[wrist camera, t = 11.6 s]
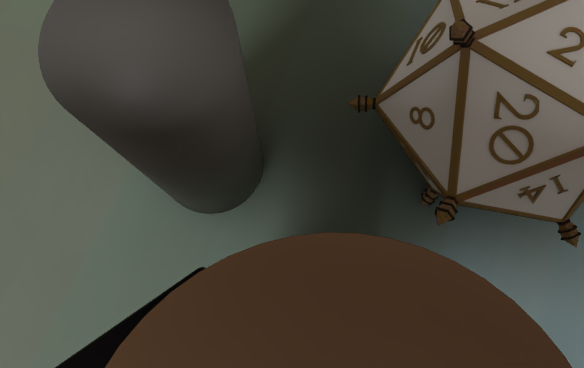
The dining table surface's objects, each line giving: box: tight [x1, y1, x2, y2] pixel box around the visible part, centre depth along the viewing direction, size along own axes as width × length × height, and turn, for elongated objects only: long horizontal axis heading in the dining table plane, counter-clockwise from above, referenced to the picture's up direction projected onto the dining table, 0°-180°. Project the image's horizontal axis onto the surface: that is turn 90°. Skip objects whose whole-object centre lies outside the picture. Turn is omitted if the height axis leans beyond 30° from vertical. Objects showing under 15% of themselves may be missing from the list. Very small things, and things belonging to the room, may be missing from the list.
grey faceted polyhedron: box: [347, 0, 584, 247], centre depth 15 cm, size 9×8×10 cm
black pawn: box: [38, 0, 263, 214], centre depth 14 cm, size 4×4×9 cm
